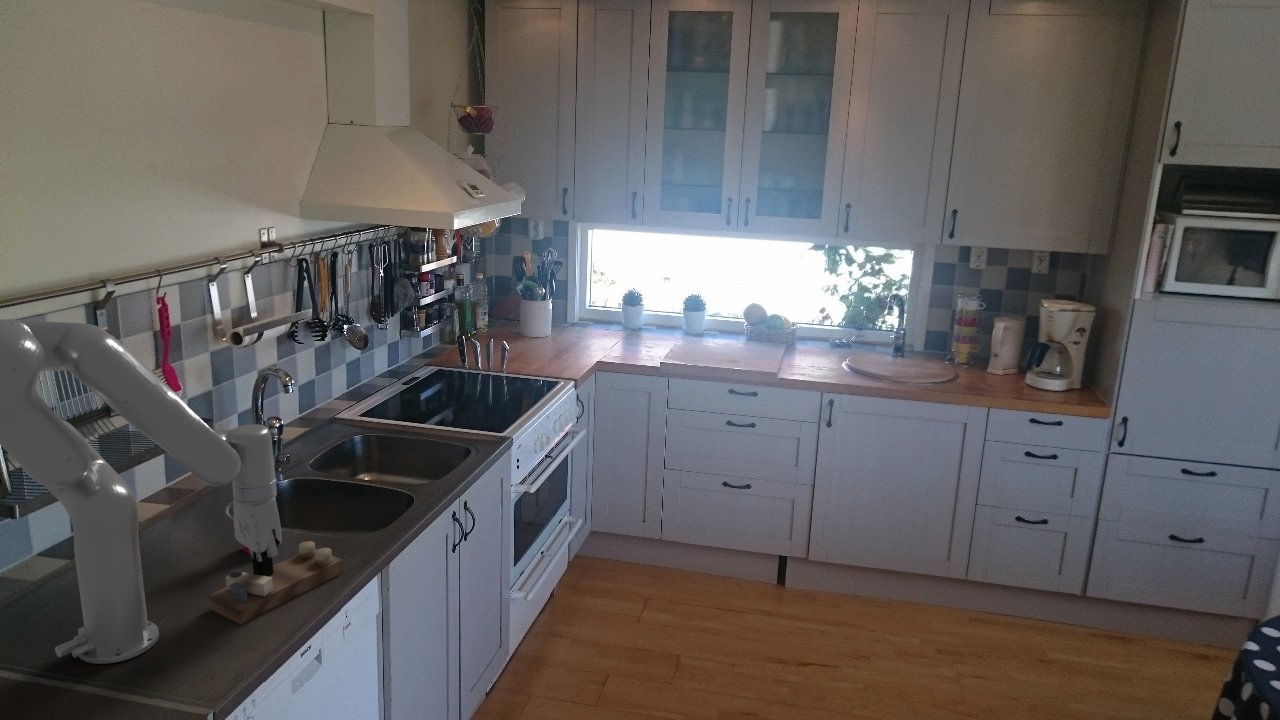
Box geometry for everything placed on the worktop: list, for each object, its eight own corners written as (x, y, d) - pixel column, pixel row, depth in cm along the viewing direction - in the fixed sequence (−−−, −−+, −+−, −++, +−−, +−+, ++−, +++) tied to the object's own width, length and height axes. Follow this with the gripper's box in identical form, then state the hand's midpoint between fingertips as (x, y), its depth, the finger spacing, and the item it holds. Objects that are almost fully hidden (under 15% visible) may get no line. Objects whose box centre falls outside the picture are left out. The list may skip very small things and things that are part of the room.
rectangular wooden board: (240, 624, 166) (238, 595, 164) (210, 609, 170) (207, 580, 169) (343, 572, 186) (341, 546, 184) (313, 560, 190) (311, 534, 189)
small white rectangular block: (226, 589, 171) (225, 574, 170) (235, 582, 174) (234, 568, 173) (264, 596, 169) (263, 581, 169) (273, 589, 172) (271, 574, 171)
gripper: (216, 484, 171) (226, 570, 176) (255, 507, 161) (264, 597, 167) (254, 473, 176) (262, 556, 181) (294, 494, 167) (302, 582, 172)
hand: (263, 576), depth 174 cm, fingers closed
